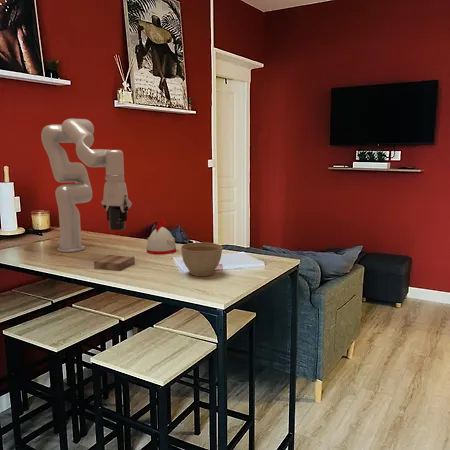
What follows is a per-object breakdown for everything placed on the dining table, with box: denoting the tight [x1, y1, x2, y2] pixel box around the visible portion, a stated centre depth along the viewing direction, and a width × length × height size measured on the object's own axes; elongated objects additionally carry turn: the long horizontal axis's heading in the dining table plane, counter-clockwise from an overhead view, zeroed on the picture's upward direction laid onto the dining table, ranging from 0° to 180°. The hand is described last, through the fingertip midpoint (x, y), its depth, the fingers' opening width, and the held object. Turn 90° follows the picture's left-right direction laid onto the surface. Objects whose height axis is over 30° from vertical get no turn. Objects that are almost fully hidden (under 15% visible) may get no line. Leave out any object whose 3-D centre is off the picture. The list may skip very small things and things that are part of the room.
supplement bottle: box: [108, 206, 126, 231], centre depth 199 cm, size 7×7×12 cm
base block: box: [93, 254, 136, 272], centre depth 193 cm, size 12×12×3 cm
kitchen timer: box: [146, 219, 177, 256], centre depth 220 cm, size 14×14×15 cm
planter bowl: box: [180, 242, 223, 277], centre depth 181 cm, size 16×16×11 cm
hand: (117, 220), depth 200 cm, fingers closed on supplement bottle, 6 cm apart
